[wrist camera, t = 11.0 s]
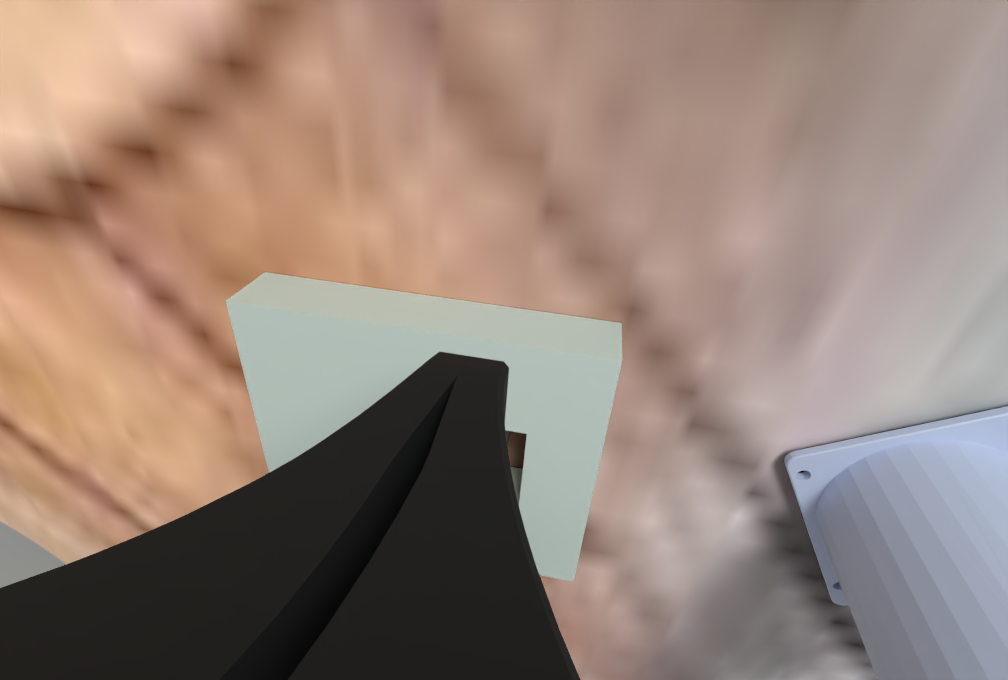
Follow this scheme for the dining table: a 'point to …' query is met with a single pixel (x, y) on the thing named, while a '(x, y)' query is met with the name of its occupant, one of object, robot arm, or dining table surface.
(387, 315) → the hole board
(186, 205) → the dining table surface
